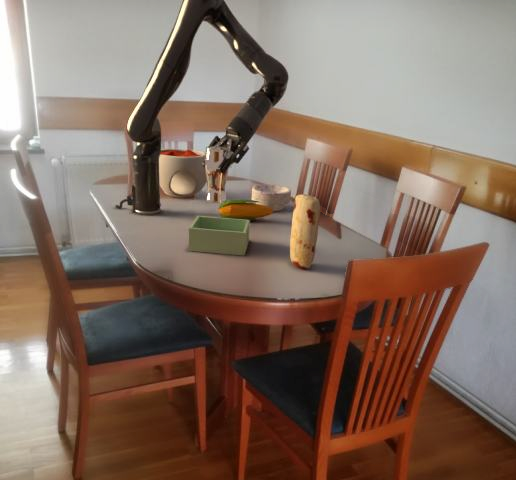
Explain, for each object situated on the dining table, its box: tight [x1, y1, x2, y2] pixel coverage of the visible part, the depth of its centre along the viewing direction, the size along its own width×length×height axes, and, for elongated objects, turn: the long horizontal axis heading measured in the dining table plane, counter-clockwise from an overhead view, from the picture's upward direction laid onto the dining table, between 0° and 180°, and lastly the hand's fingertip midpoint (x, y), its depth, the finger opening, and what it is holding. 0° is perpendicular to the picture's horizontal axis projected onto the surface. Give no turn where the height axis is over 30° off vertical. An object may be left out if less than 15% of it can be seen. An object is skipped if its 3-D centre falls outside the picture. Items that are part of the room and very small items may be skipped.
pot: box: [159, 148, 207, 199], centre depth 212 cm, size 24×24×18 cm
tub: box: [188, 215, 251, 256], centre depth 159 cm, size 17×15×7 cm
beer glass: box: [204, 146, 229, 204], centre depth 154 cm, size 7×7×15 cm
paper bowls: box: [251, 184, 292, 212], centre depth 205 cm, size 15×15×8 cm
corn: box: [218, 199, 274, 222], centre depth 187 cm, size 7×8×20 cm
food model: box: [289, 193, 321, 270], centre depth 144 cm, size 10×7×20 cm
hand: (212, 169), depth 152 cm, fingers closed on beer glass, 7 cm apart
